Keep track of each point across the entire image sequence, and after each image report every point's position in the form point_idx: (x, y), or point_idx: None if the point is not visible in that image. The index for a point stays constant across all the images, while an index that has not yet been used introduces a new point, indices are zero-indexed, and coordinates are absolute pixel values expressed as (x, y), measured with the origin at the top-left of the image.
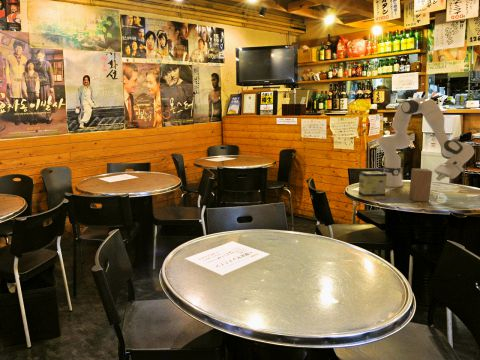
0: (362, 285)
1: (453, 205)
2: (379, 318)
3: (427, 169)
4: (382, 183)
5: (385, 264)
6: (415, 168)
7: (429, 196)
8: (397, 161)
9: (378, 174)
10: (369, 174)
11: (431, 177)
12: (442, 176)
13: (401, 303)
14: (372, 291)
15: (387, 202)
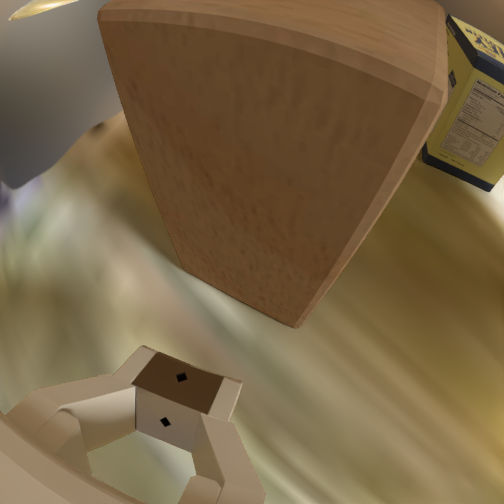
0: (41, 3)
1: (33, 339)
2: (20, 9)
3: (324, 21)
4: (449, 93)
5: (38, 12)
6: (434, 8)
7: (177, 252)
8: None
9: (463, 37)
10: (452, 21)
11: (121, 99)
12: (57, 399)
13: (13, 16)
14: (32, 7)
15: None
